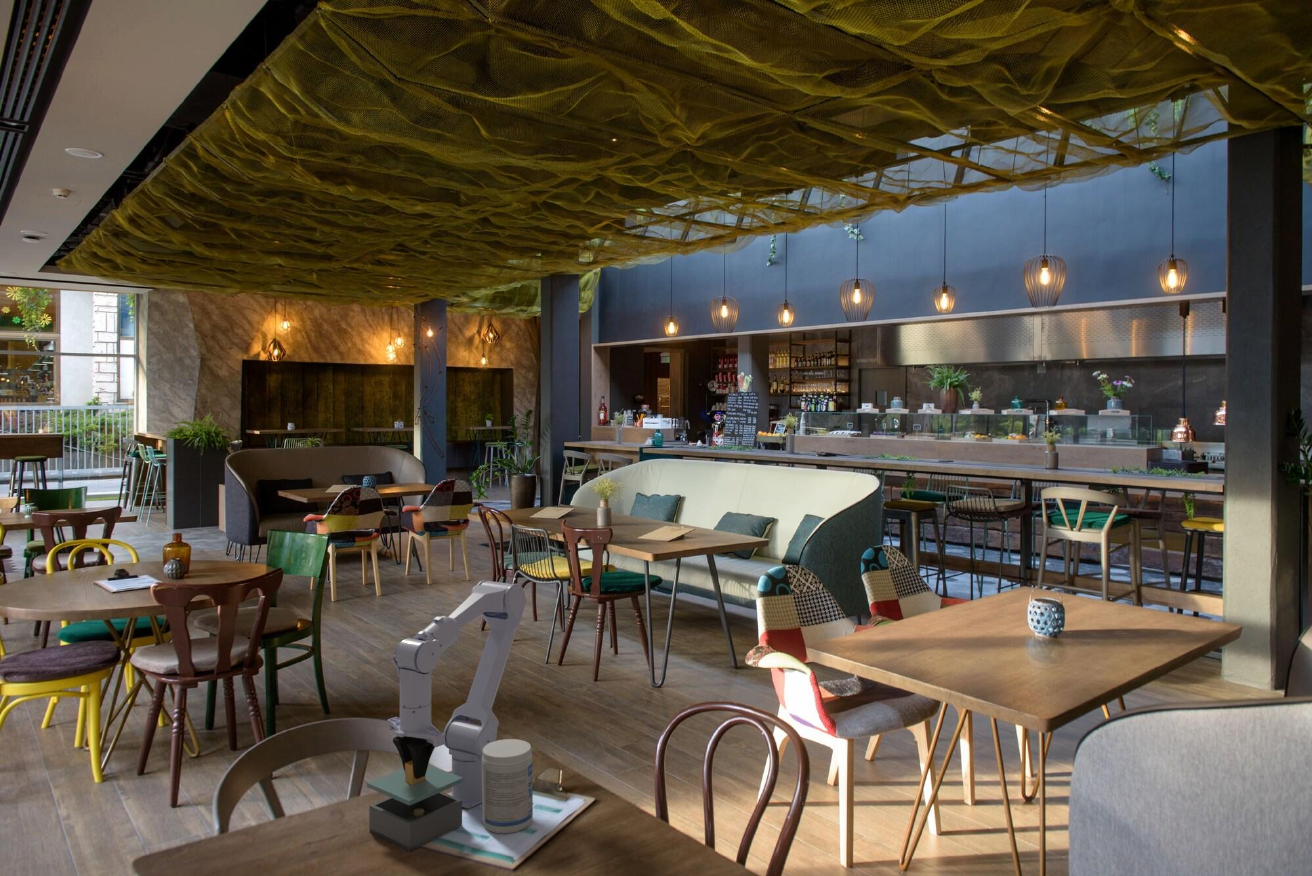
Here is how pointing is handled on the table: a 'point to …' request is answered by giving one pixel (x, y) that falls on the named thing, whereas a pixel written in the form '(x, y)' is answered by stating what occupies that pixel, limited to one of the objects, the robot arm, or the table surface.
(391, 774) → the lid
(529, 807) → the supplement tub
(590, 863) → the table surface
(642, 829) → the table surface
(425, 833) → the parts tub
